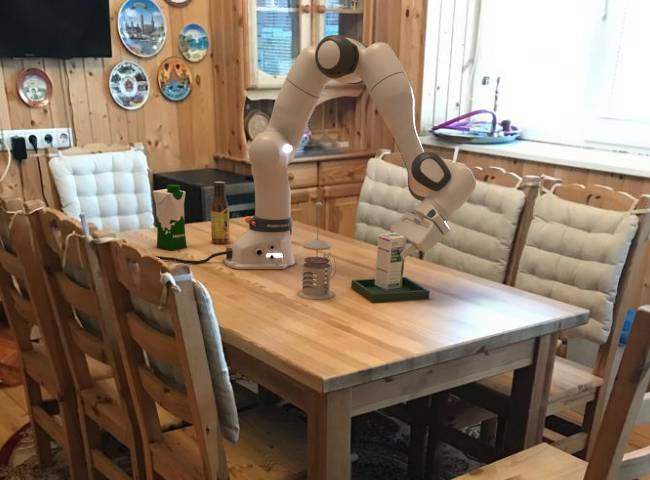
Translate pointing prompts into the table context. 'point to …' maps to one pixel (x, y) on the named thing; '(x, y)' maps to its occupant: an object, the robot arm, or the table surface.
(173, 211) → the milk carton
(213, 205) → the sauce bottle
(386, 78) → the robot arm
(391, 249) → the syrup box
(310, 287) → the french press
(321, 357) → the table surface
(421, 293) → the tray
